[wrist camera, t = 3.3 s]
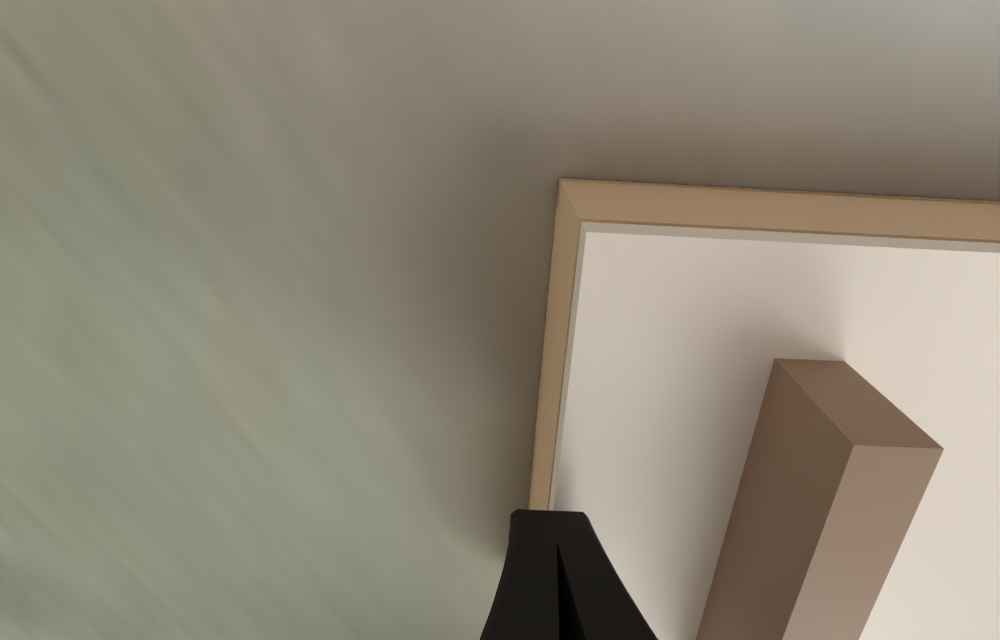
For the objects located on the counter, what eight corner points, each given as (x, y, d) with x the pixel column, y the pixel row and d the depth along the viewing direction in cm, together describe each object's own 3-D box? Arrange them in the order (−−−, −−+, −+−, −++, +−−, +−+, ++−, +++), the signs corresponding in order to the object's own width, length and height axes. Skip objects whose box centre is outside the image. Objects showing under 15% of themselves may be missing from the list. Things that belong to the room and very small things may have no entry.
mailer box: (1160, 599, 18) (1299, 714, 15) (521, 577, 18) (527, 691, 15) (1432, 224, 13) (1726, 277, 10) (559, 177, 13) (579, 218, 10)
